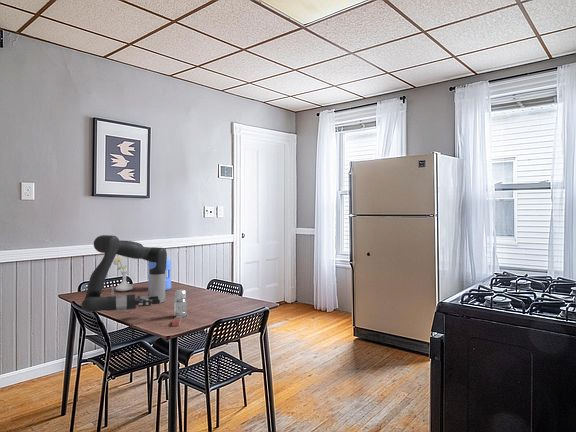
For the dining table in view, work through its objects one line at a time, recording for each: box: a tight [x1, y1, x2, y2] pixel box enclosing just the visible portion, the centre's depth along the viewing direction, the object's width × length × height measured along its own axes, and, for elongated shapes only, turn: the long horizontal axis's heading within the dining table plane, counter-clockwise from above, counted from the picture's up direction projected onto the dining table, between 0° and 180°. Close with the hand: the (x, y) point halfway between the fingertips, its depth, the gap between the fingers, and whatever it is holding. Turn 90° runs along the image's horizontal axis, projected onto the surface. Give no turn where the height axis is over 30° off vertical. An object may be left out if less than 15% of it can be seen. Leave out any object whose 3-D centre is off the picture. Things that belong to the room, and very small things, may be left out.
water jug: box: [147, 257, 172, 291], centre depth 294 cm, size 16×16×28 cm
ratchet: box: [171, 311, 188, 327], centre depth 214 cm, size 22×6×7 cm, turn 7°
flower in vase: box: [113, 255, 134, 292], centre depth 288 cm, size 13×11×25 cm
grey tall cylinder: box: [173, 289, 188, 313], centre depth 221 cm, size 6×6×11 cm
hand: (159, 299), depth 217 cm, fingers open, 8 cm apart
